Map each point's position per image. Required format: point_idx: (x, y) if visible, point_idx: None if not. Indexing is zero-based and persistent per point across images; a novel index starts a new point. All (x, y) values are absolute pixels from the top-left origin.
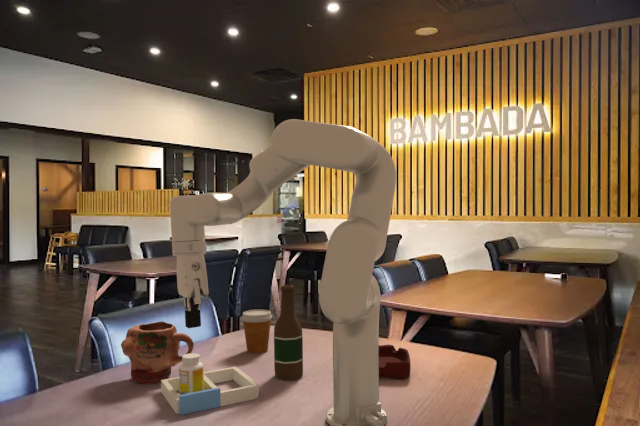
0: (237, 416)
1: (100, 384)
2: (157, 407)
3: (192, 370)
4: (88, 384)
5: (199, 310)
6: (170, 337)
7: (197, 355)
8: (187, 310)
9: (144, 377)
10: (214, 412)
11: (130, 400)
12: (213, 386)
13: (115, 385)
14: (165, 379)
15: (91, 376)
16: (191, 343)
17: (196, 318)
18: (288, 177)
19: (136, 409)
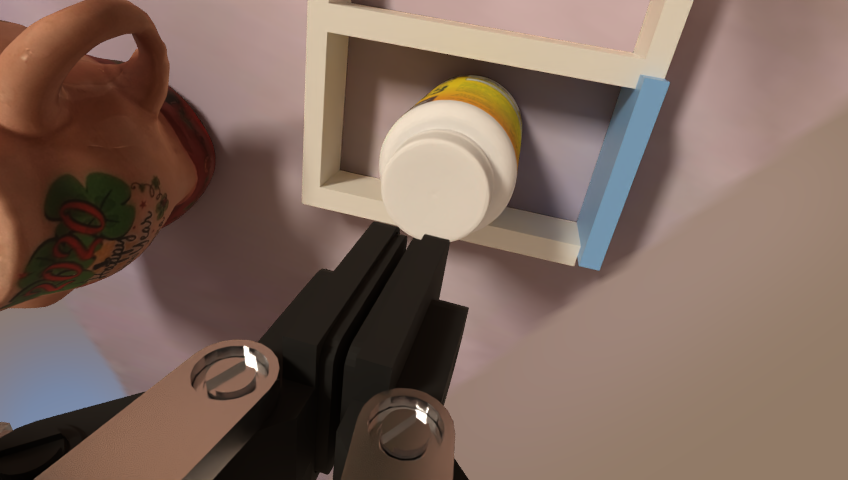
0: (823, 67)
1: (142, 292)
2: (458, 257)
3: (511, 195)
4: (128, 315)
5: (396, 364)
6: (41, 148)
7: (460, 162)
8: (311, 467)
9: (191, 204)
10: (683, 125)
11: None
12: (546, 57)
13: (172, 265)
14: (305, 186)
15: None
16: (109, 19)
17: (455, 355)
18: None
19: None
